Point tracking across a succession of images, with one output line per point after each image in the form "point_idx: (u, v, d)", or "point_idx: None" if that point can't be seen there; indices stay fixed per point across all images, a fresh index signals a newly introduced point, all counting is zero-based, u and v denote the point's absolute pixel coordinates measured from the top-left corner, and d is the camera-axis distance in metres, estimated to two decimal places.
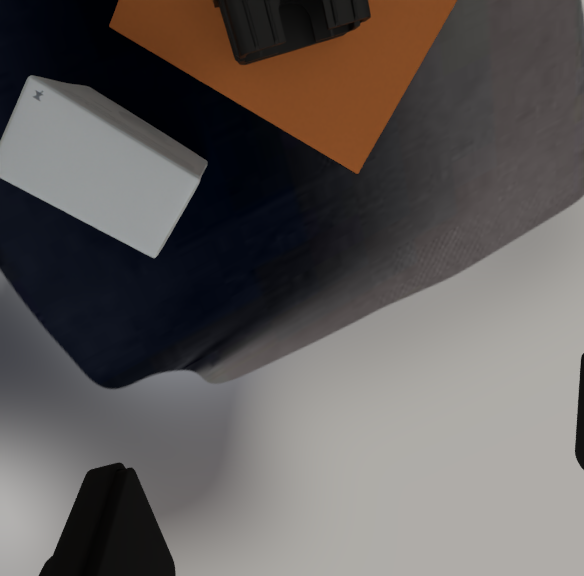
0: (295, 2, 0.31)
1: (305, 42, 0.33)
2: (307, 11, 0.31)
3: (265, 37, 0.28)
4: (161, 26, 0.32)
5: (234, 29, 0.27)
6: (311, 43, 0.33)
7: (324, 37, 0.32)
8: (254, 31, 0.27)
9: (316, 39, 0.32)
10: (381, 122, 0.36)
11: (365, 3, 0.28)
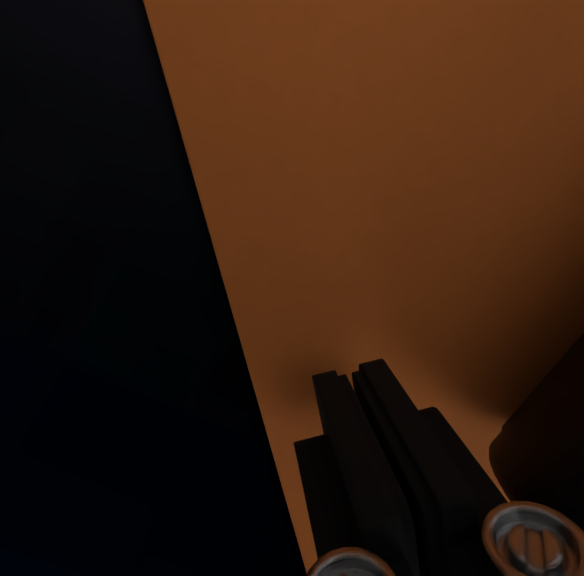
0: None
1: None
2: None
3: None
4: None
5: None
6: None
7: None
8: None
9: None
10: None
11: None
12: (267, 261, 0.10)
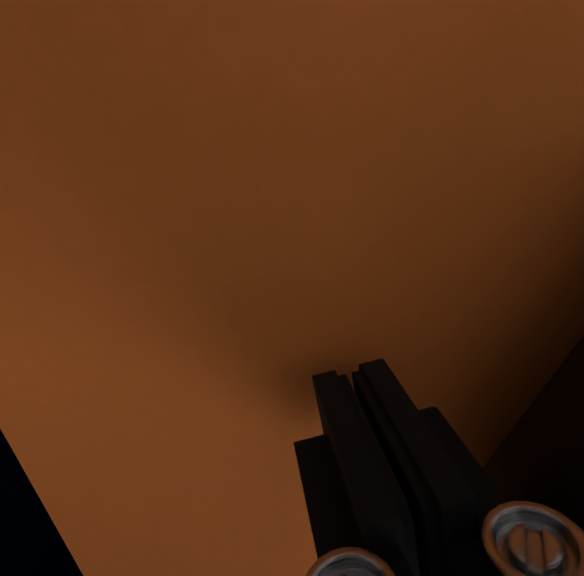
0: None
1: None
2: None
3: None
4: None
5: None
6: None
7: None
8: None
9: None
10: None
11: None
12: (3, 335, 0.09)
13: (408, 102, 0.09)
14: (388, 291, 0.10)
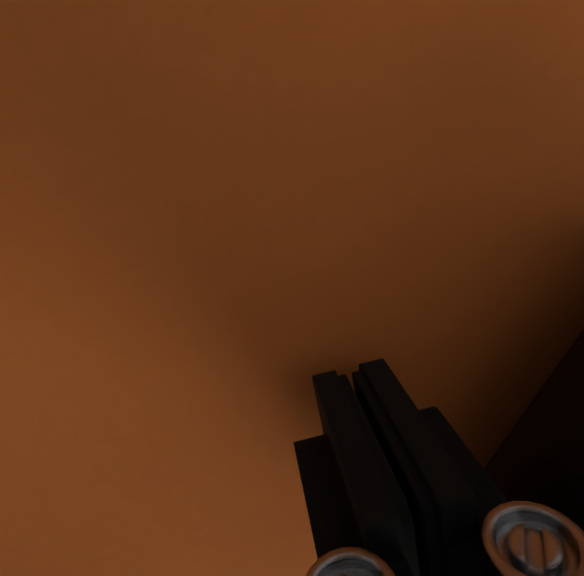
0: None
1: None
2: None
3: None
4: None
5: None
6: None
7: None
8: None
9: None
10: None
11: None
12: None
13: (109, 166, 0.08)
14: (131, 353, 0.10)
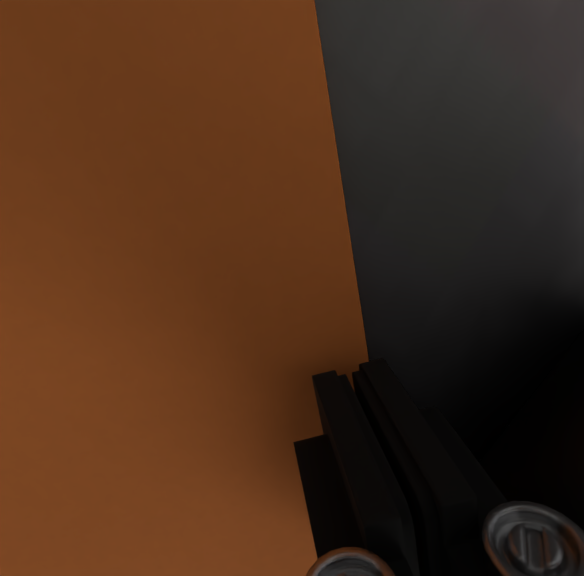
0: None
1: None
2: None
3: None
4: None
5: None
6: None
7: None
8: None
9: None
10: None
11: None
12: None
13: None
14: None
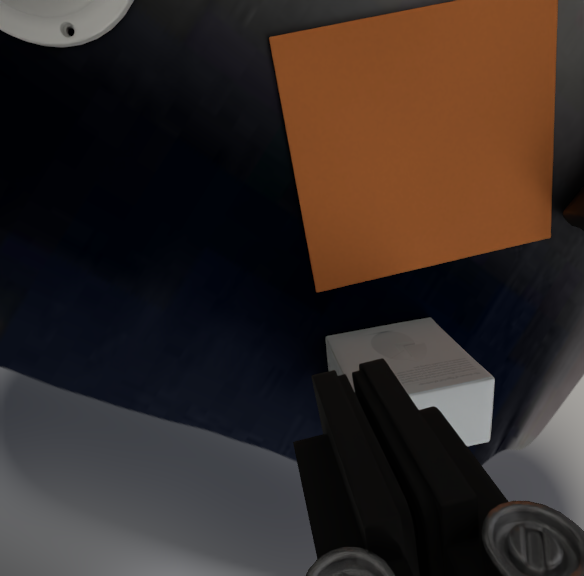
0: None
1: None
2: None
3: None
4: (349, 264, 0.37)
5: None
6: None
7: None
8: None
9: None
10: (547, 188, 0.38)
11: None
12: (304, 153, 0.34)
13: (414, 91, 0.33)
14: (408, 146, 0.35)
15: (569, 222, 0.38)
